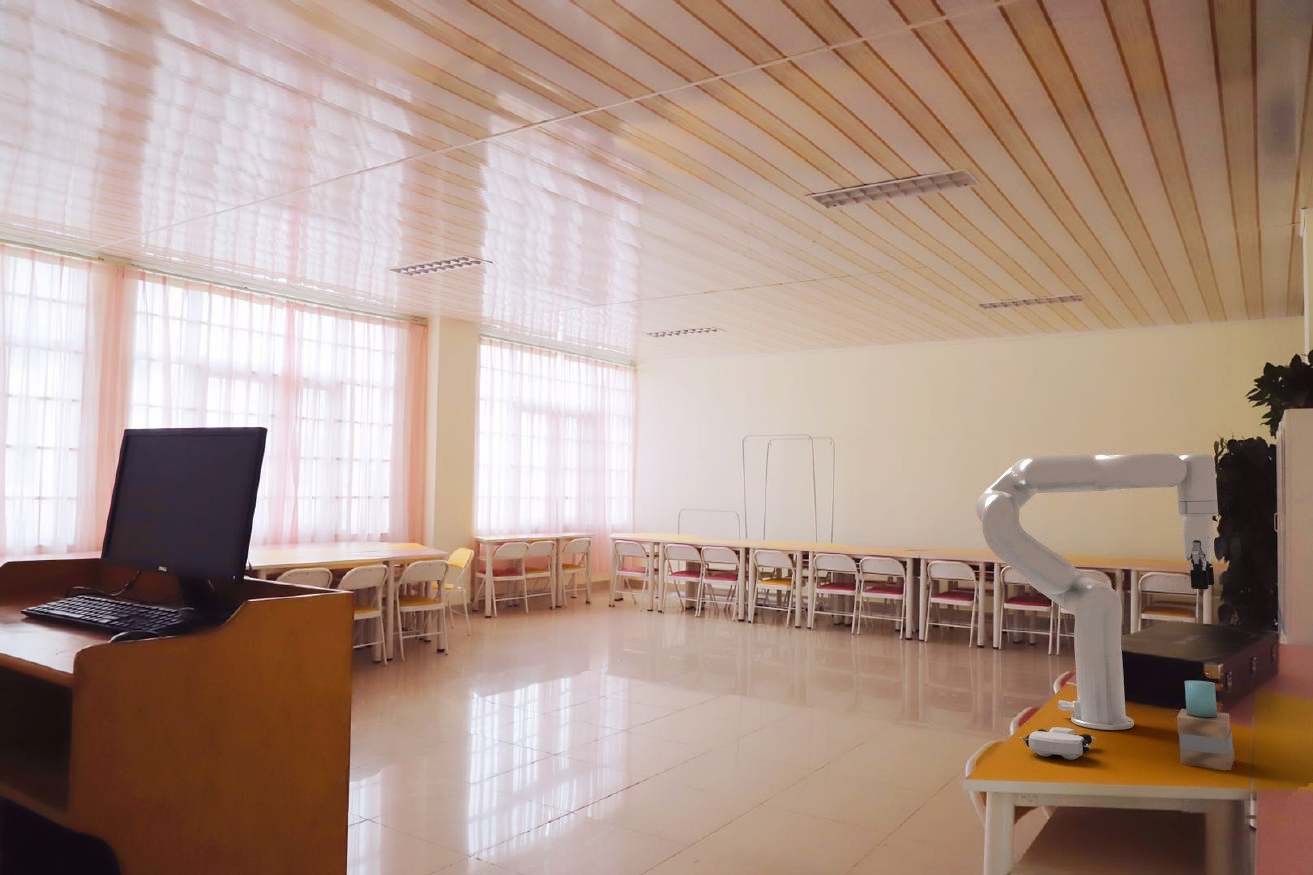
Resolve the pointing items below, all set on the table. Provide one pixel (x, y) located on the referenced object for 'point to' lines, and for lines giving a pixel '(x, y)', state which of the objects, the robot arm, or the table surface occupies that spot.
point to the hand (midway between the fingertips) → (1203, 586)
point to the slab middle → (1206, 744)
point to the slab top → (1204, 725)
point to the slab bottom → (1207, 759)
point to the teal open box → (1200, 698)
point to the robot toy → (1059, 742)
